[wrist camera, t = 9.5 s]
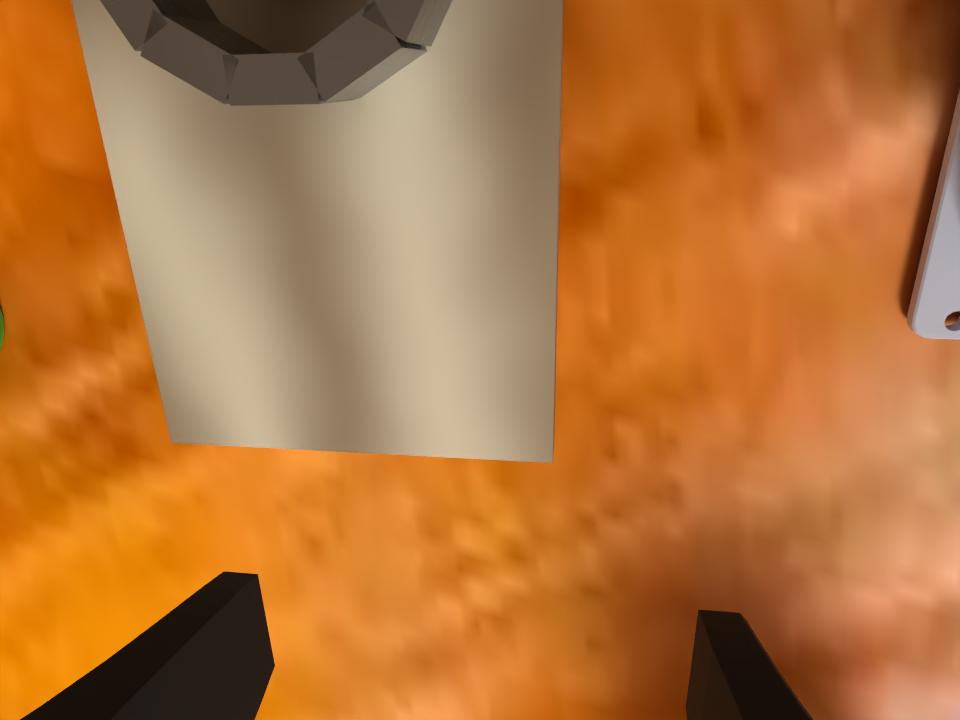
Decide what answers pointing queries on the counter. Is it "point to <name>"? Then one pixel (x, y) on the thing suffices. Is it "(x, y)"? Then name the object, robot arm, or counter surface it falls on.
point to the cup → (1, 328)
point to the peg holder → (340, 216)
